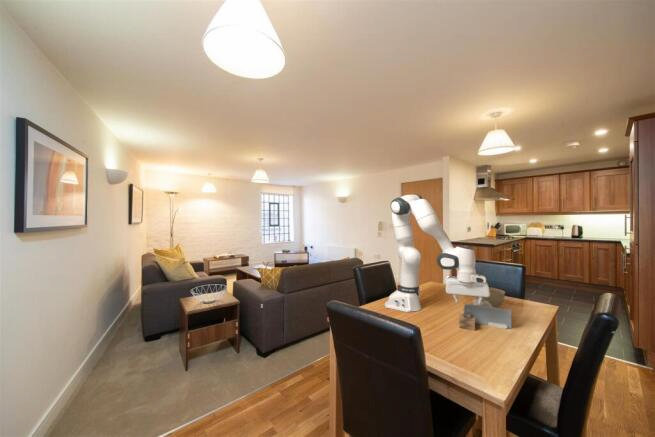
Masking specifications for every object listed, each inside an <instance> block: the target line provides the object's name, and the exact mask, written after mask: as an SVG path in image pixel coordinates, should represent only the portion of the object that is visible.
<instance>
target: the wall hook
mask: <svg viewBox="0 0 655 437" xmlns="http://www.w3.org/2000/svg"><path fill="white" fill-rule="evenodd" d="M476 300H477V301H478V300H479V299H477V298H475V299H472V305H476ZM480 306H488V307H492V306H491V304H490V303H489V302H488V301H484V302H482V301H480Z"/></svg>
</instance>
